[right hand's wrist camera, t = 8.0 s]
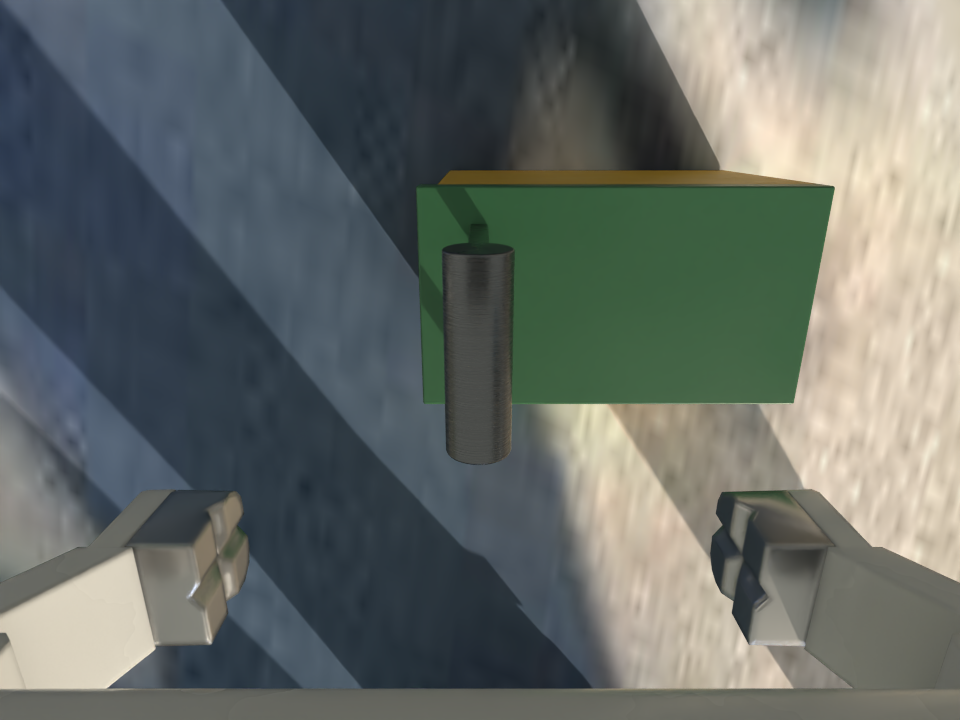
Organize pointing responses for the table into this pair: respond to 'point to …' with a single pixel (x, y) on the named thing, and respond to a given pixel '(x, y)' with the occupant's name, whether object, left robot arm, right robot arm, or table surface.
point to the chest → (608, 177)
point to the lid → (611, 297)
